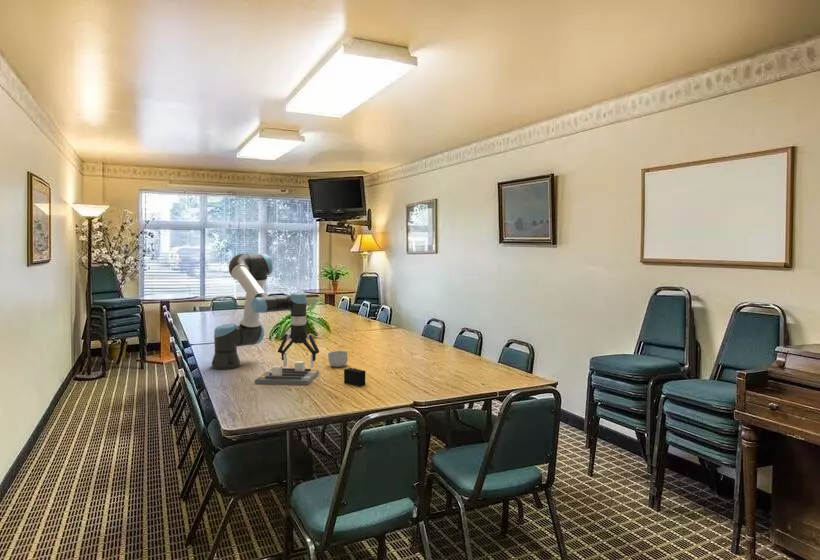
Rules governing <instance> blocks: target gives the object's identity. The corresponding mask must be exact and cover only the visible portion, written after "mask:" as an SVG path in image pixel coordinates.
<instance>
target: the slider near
mask: <svg viewBox="0 0 820 560" xmlns="http://www.w3.org/2000/svg"><path fill="white" fill-rule="evenodd" d="M282 368H283V365H273V366H271V369H272V376H282Z"/></svg>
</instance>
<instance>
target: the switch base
mask: <svg viewBox="0 0 820 560" xmlns="http://www.w3.org/2000/svg"><path fill="white" fill-rule="evenodd" d="M319 375H320V370H318V369H316V370H315V369H312V368H305V371H295V367H294V368H293V367H292V368H291V367H290V368H289V367H287V368H286V367H282V376H272V368H271V369H269V370H268V371H266V372H265V373H263V374H261V375H260V376H259V377H257V378H256V379H254V380H255V381H254V383H255V384H254V385H291V386H292V385H293V386H296V385H298V386H299V385H301V386H309V384H311V382H313V381H314V379H316V378H317V376H319Z"/></svg>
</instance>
